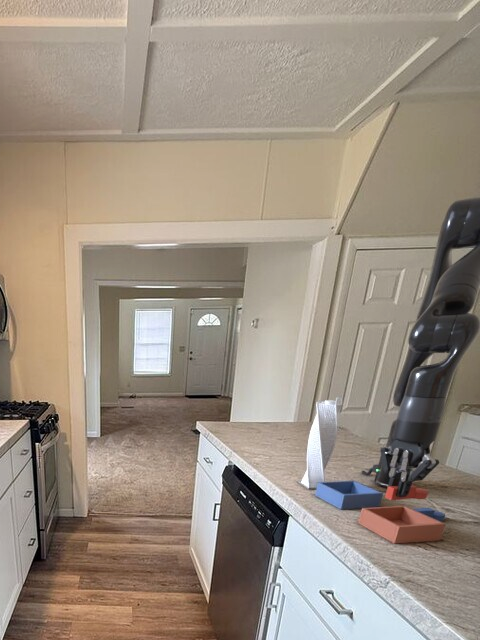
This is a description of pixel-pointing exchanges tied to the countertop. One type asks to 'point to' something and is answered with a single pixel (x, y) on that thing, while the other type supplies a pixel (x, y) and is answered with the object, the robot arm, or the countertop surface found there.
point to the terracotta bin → (401, 524)
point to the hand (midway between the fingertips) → (396, 494)
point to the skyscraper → (321, 442)
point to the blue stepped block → (431, 513)
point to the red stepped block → (413, 493)
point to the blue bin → (348, 494)
